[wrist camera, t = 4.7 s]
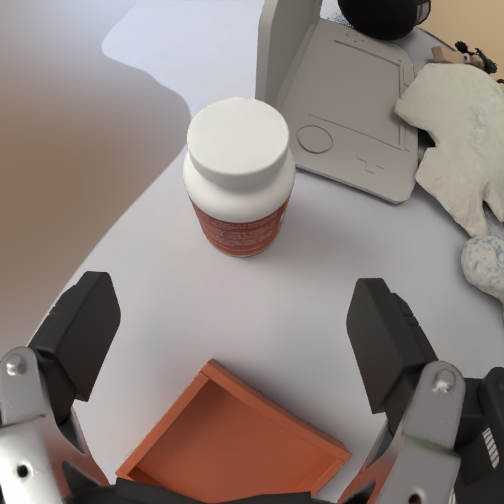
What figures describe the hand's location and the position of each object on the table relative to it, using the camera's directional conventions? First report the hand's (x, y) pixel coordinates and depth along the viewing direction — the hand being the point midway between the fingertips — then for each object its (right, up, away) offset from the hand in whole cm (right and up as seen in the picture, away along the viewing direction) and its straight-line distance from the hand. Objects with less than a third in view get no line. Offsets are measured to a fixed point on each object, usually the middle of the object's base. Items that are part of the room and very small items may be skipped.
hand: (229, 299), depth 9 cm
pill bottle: (0, +4, +14) cm, 15 cm away
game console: (+12, +20, +18) cm, 30 cm away
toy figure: (+28, +31, +17) cm, 45 cm away
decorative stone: (+25, -3, +13) cm, 28 cm away
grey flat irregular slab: (+18, +6, +12) cm, 22 cm away
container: (+16, +33, +15) cm, 39 cm away
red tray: (-1, -15, +9) cm, 17 cm away
